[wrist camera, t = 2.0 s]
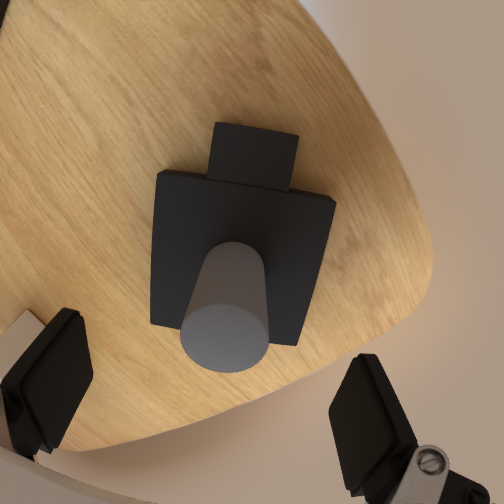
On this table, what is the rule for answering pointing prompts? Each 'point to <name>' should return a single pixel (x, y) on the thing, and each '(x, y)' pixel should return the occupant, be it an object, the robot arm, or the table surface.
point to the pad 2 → (236, 249)
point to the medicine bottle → (18, 340)
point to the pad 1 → (3, 9)
